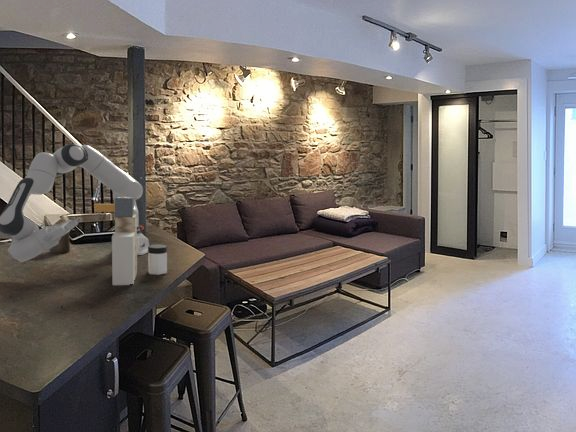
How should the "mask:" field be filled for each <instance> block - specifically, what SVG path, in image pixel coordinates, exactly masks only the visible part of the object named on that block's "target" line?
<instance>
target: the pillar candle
mask: <svg viewBox="0 0 576 432" xmlns="http://www.w3.org/2000/svg"><path fill="white" fill-rule="evenodd" d="M55 225H56V224H51V225H49V226H55ZM70 242H71V241H70V231H69V232H68V233H67V234H65V235H64V236H62V237H61V239H60V240H59V244H58V245H56V246H54V247H52V248H50V249H48V250H49V251H48V252H49V253H50V254H57V255H58V254H67V253H70V252H71V250H70V249H71V246H70V245H71V244H70Z"/></svg>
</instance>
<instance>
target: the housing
mask: <svg viewBox="0 0 576 432" xmlns="http://www.w3.org/2000/svg"><path fill="white" fill-rule="evenodd" d="M93 208H94V209H93V210H94V211H93V212H95V213H96V212H99V213H100V212H101V213H102V212H104V213H105V212H108V213H112V212H114V218H115V217H133V216H134V197H127V196H117V197H116V198H115V204H114V203H94V204H93Z"/></svg>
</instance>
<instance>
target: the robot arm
mask: <svg viewBox="0 0 576 432" xmlns="http://www.w3.org/2000/svg"><path fill="white" fill-rule="evenodd" d="M78 167H81V168H82V169H84V170H85V171H86V172H87V173H88V174H90V175H91V176H92V177H94V178H95V179H96V180H98V182H100V183H101V184H103V185H104V186H105V187H107V188H109V190H111V191H112V195H113V202H114V203H113V204H115V198H116V197H117V196H127V197H134V214H135V215H137V256H144V255H145V254H148V246H150V241H149V239H148V237H146V236H145V235H144V234H143V233H142V231H143V230H144V229H145V228H144V226H143V225H139V209H138V206H137V205H138V204H137V200H139V199H140V198H141V197H142V196H143V192H144V187H143V185H142V184H141V183H140V182H139V181H137V179H135V178H134V177H132V176H131V175H130V174H128V173H127V172H125V171H124V170H123V169H122V168H120V167H119V166H117V165H116V164H114V163H113V162H112V161H111V160H110V159H108V158H107V157H106V156H105V155H104V154H102V153H101V152H100V151H98V150H97V149H96V148H94V147H92V146H91V145H88V144H82V145H80V144H77V143H68V144H65V145H64V146H61V147H60V148H58V149H56V150H55V152H53V153H49V152H44V151H43V152H42V151H41V152H39V153H37V154H36V155H35V156H34V158H33V160H32V162H31V164H30V165H29V168H28V170H27V174H26V175H25V178H24V177H23V178H22V179H21V180H20V181H19V182H18V183H17V185H16V186H15V189H14V190H13V192H12V195H11V196H10V198H9V201H8V203H7V204H6V206H5V208H4V210H3V211H2V212H1V213H0V232H1V233H2V234H5V235H8V236H9V237H11V238H12V239H11V243H10V246H9V247H8V248H7V252H8V254H9V256H10V257H11V258H12V259H13V260H15V261H16V262H17V263H18V262H19V263H23V262H24V263H25V262H26V261H29V260H32V259H34V258H35V257H37V256H39V255H40V254H41V253H43V252H46V251H48V250H49V249H50V248H52V247H54V246H56V245H58V244H59V240H60V239H61V237H62V236H64V235H65V234H67V233H68V232H69V233H70V231H71V230H73V229H74V228H75V227H76V226H78V224H79V223H81V222H82V221H83V219H82V217H78V218H75V219H73V220H72V219H68V220H66V221H62V222H61V223H58V224H54V225H55V226H50V225H48V226H47V225H46V226H44V227H43V228H40V227H39V226H38V224H37V223H35V221H33V220H31V219H30V218H29V217H26V216H25V215H24V208H25V206H26V205H27V203H28V202H27V201H28V199H29V198H30V196H31V195H40V196H41V195H45V194H47V193H49V192H50V191H51V190H52V189H53V187H54V184H55V181H56V177H57V175H66V174H68V173H69V172H72V171H74V170H75V169H76V168H78ZM141 230H142V231H141Z"/></svg>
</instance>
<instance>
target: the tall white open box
mask: <svg viewBox="0 0 576 432" xmlns="http://www.w3.org/2000/svg"><path fill="white" fill-rule="evenodd" d="M111 260H112V261H111V262H112V264H111V268H112V269H111V271H112V272H111V273H112V275H111V276H112V278H111V279H112V281H111V282H112V286H131V285H130V284H133V285H134V283H135V281H134V280H136V277H135V232H117V233H115V232H114V233H112V236H111Z"/></svg>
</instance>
